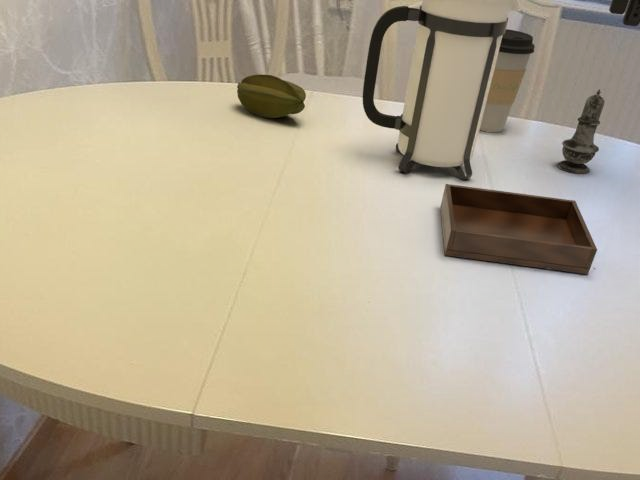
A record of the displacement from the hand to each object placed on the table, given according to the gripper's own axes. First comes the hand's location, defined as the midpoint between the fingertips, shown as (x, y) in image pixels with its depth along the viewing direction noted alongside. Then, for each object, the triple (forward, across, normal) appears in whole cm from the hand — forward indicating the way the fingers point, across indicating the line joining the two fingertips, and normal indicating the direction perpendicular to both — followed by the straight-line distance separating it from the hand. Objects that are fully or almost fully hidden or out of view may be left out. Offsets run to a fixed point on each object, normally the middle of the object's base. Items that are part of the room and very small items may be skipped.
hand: (622, 19), depth 108 cm
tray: (+22, -30, +13) cm, 39 cm away
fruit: (+22, +11, +51) cm, 57 cm away
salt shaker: (+22, +3, -1) cm, 22 cm away
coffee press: (+22, -4, +24) cm, 33 cm away
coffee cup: (+22, +20, +12) cm, 32 cm away
